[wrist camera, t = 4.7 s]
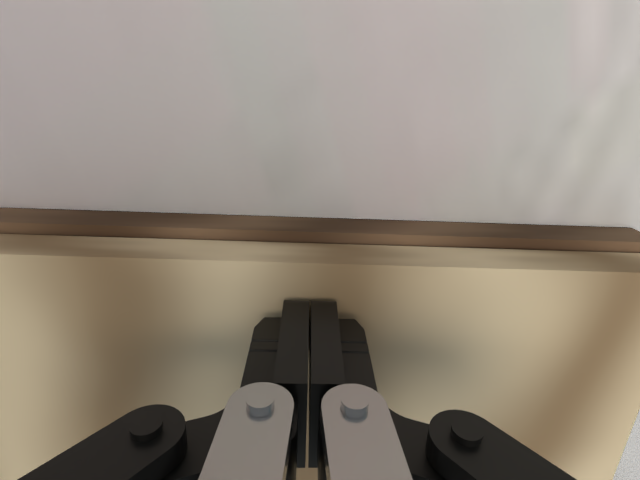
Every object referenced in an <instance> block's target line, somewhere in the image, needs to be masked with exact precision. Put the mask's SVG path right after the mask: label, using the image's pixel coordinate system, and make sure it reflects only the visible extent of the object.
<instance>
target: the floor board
mask: <svg viewBox="0 0 640 480" xmlns="http://www.w3.org/2000/svg"><path fill="white" fill-rule="evenodd" d="M0 234H24V235H57V236H91V237H124V238H157V239H190V240H223V241H256V242H289V243H322V244H355V245H388V246H421V247H454V248H487V249H520V250H553V251H586V252H619V253H640V232H639V231H637V230H635V229H632V228H621V227H590V226H558V225H527V224H496V223H465V222H433V221H402V220H371V219H340V218H308V217H277V216H246V215H215V214H183V213H152V212H121V211H90V210H59V209H27V208H0Z"/></svg>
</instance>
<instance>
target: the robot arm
mask: <svg viewBox="0 0 640 480" xmlns="http://www.w3.org/2000/svg"><path fill="white" fill-rule="evenodd" d="M308 333H309V301H300V300H284V301H283V309H282V317H281V318H280V317H264V318H263V319H262V320H261V321H260V322H259V323H258V324H257V325H256V326H255V327H254V331H253V335H252V340H251V343H250V348H249V352H248V356H247V360H246V365H245V369H244V373H243V377H242V382H241V386H240V388H239V389H238V390H237V391H235V392H234V393H233V394H232V395H231V396H230V398H229V399H228V401H227V404H226V406H225V408H224V409H222V410H221V411H219V412H217V413H214V414H212V415H209V416H205V417H201V418H197V419H192V420H188V421H185V418H184V416H183V414H182V413H181V412H180V411H179V410H178V409H176V408H175V407H172V406H169V405H164V404H154V405H147V406H143V407H140V408H137V409H135V410H132V411H131V412H129V413H127V414H125V415H124V416H122V417H120V418H119V419H117V420H115V421H114V422H112V423H110V424H109V425H107V426H105V427H104V428H102V429H100V430H99V431H97V432H95V433H94V434H92V435H90V436H89V437H87V438H85V439H84V440H82V441H80V442H79V443H77V444H75V445H74V446H72V447H71V448H69V449H67V450H66V451H64V452H62V453H61V454H59V455H57V456H56V457H54V458H52V459H51V460H49V461H47V462H46V463H44V464H42V465H41V466H39V467H37V468H36V469H34V470H32V471H31V472H29V473H27V474H26V475H24V476H22V477H21V478H19V479H17V480H296V470H297V468H305V461H306V427H307V393H308ZM308 468H317V469H318V480H577V479H575V478H574V477H572V476H571V475H569V474H568V473H566V472H565V471H563V470H562V469H560V468H558V467H557V466H555V465H554V464H552V463H551V462H549V461H548V460H546V459H545V458H543V457H542V456H540V455H539V454H537V453H536V452H534V451H533V450H531V449H530V448H528V447H527V446H525V445H523V444H522V443H520V442H519V441H517V440H516V439H514V438H513V437H511V436H510V435H508V434H507V433H505V432H504V431H502V430H501V429H499V428H498V427H496V426H495V425H493V424H491V423H490V422H488V421H487V420H485V419H484V418H482V417H480V416H478V415H476V414H474V413H471V412H468V411H463V410H445V411H442V412H439V413H438V414H436V415H435V416H434V417H433V418H432V419H431V421H430V424H427V423H423V422H420V421H416V420H412V419H409V418H406V417H403V416H401V415H399V414H397V413H395V412H394V411H392V410H391V409H389V408H388V405H387V403H386V401H385V399H384V398H383V397H382V396H381V395H380V394H379V393H378V391H377V386H376V381H375V377H374V372H373V367H372V363H371V358H370V354H369V348H368V344H367V339H366V334H365V330H364V328H363V327H362V326H361V325H360V324H359V323H358V322H357V321H356V320H355V319H338V310H337V302H336V301H311V321H310V355H309V442H308Z"/></svg>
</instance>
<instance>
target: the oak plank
mask: <svg viewBox="0 0 640 480" xmlns="http://www.w3.org/2000/svg"><path fill="white" fill-rule="evenodd" d="M284 300H300V301H309V333H308V393H307V427H306V461H305V468H297V470H296V480H318V469H317V468H308V442H309V355H310V321H311V301H336V302H337V310H338V319H355V320H356V321H357V322H358V323H359V324H360V325H361V326H362V327H363V328H364V330H365V334H366V339H367V344H368V348H369V354H370V358H371V363H372V367H373V372H374V377H375V381H376V386H377V391H378V393H379V394H380V395H381V396H382V397H383V398H384V399H385V401H386V403H387V405H388V408H389V409H391V410H392V411H394V412H395V413H397V414H399V415H401V416H403V417H406V418H409V419H412V420H416V421H420V422H423V423H427V424H430V421H431V419H432V418H433V417H434V416H435V415H436V414H438V413H439V412H442V411H445V410H463V411H468V412H471V413H474V414H476V415H478V416H480V417H482V418H484V419H485V420H487V421H488V422H490V423H491V424H493V425H495V426H496V427H498V428H499V429H501V430H502V431H504V432H505V433H507V434H508V435H510V436H511V437H513V438H514V439H516V440H517V441H519V442H520V443H522V444H523V445H525V446H527V447H528V448H530V449H531V450H533V451H534V452H536V453H537V454H539V455H540V456H542V457H543V458H545V459H546V460H548V461H549V462H551V463H552V464H554V465H555V466H557V467H558V468H560V469H562V470H563V471H565V472H566V473H568V474H569V475H571V476H572V477H574V478H575V479H577V480H612V479H613V476H614V474H615V471H616V469H617V466H618V464H619V461H620V458H621V456H622V453H623V451H624V448H625V445H626V443H627V440H628V438H629V435H630V432H631V430H632V427H633V425H634V422H635V420H636V417H637V414H638V412H639V409H640V253H619V252H586V251H553V250H520V249H487V248H454V247H421V246H388V245H355V244H322V243H289V242H256V241H223V240H190V239H157V238H124V237H91V236H57V235H24V234H0V480H17V479H19V478H21V477H22V476H24V475H26V474H27V473H29V472H31V471H32V470H34V469H36V468H37V467H39V466H41V465H42V464H44V463H46V462H47V461H49V460H51V459H52V458H54V457H56V456H57V455H59V454H61V453H62V452H64V451H66V450H67V449H69V448H71V447H72V446H74V445H75V444H77V443H79V442H80V441H82V440H84V439H85V438H87V437H89V436H90V435H92V434H94V433H95V432H97V431H99V430H100V429H102V428H104V427H105V426H107V425H109V424H110V423H112V422H114V421H115V420H117V419H119V418H120V417H122V416H124V415H125V414H127V413H129V412H131V411H132V410H135V409H137V408H140V407H143V406H147V405H154V404H164V405H169V406H172V407H175V408H176V409H178V410H179V411H180V412H181V413H182V414H183V416H184V418H185V421H188V420H192V419H197V418H201V417H205V416H209V415H212V414H214V413H217V412H219V411H221V410H222V409H224V408H225V406H226V404H227V401H228V399H229V398H230V396H231V395H232V394H233V393H234V392H235V391H237V390H238V389H239V388H240V386H241V382H242V377H243V373H244V369H245V365H246V360H247V356H248V352H249V348H250V343H251V340H252V335H253V331H254V327H255V326H256V325H257V324H258V323H259V322H260V321H261V320H262V319H263V318H264V317H280V318H281V317H282V309H283V301H284Z"/></svg>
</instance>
